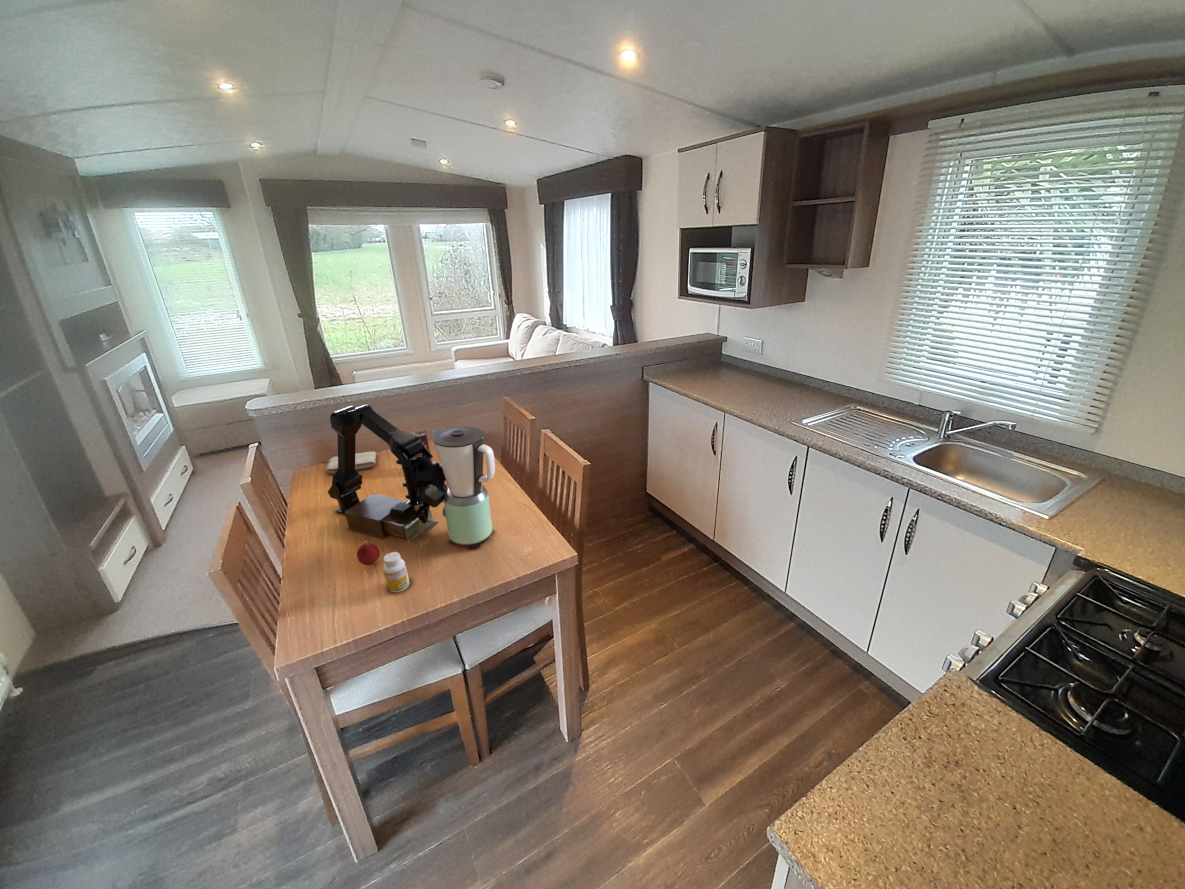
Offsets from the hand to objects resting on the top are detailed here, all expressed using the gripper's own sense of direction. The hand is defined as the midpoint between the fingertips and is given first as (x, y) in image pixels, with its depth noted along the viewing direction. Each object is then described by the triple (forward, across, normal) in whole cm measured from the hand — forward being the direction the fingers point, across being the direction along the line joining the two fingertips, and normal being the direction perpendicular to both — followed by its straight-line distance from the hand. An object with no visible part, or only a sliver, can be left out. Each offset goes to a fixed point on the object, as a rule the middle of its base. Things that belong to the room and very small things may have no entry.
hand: (424, 522), depth 145 cm
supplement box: (+5, +33, +31) cm, 45 cm away
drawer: (+4, 0, +6) cm, 8 cm away
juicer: (+5, +4, -14) cm, 16 cm away
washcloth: (+5, +28, +62) cm, 68 cm away
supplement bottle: (+5, -21, -8) cm, 23 cm away
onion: (+5, -17, +6) cm, 19 cm away
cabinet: (+5, 0, +19) cm, 20 cm away
